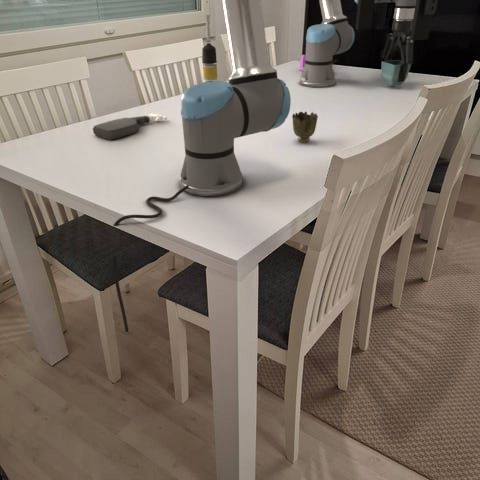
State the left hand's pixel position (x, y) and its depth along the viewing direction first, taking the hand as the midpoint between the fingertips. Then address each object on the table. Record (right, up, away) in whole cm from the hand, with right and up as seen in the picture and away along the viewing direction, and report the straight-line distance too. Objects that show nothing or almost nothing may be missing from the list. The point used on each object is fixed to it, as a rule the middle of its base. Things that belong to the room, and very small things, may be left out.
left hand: (388, 34), depth 71 cm
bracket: (+12, +53, +154) cm, 163 cm away
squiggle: (+48, +44, +138) cm, 153 cm away
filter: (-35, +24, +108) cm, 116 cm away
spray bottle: (-60, +4, +77) cm, 98 cm away
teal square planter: (+41, +33, +118) cm, 129 cm away
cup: (-5, -3, +64) cm, 64 cm away
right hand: (+41, +35, +117) cm, 129 cm away
